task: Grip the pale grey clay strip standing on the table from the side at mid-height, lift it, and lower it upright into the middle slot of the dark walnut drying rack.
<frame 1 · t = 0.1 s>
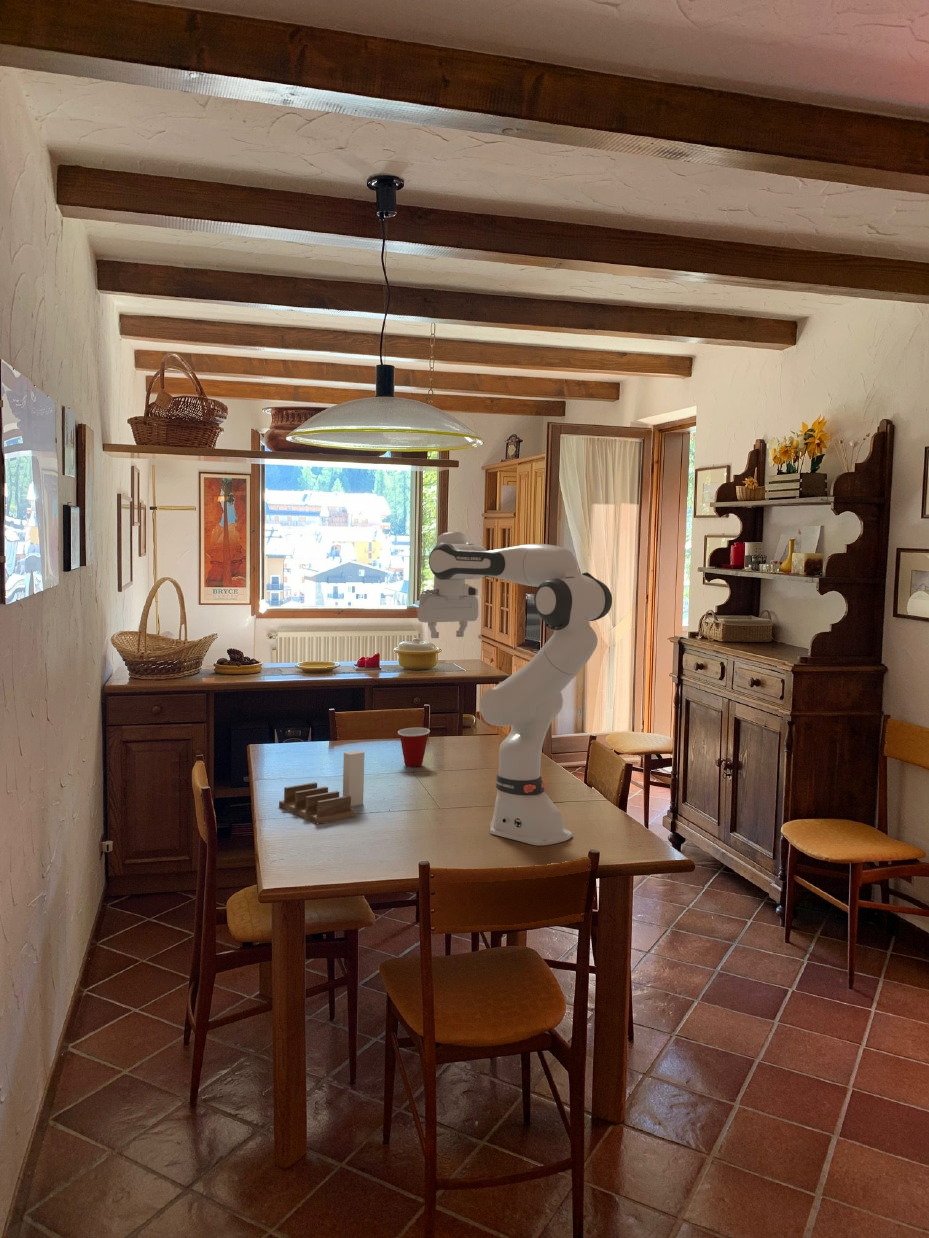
hand: (447, 637, 265), 48 cm above the table, tool pointing down, fingers open, 8 cm apart
plastic cup: (412, 765, 311), on the table
drying rack: (316, 811, 254), on the table
clay strip: (352, 804, 262), on the table
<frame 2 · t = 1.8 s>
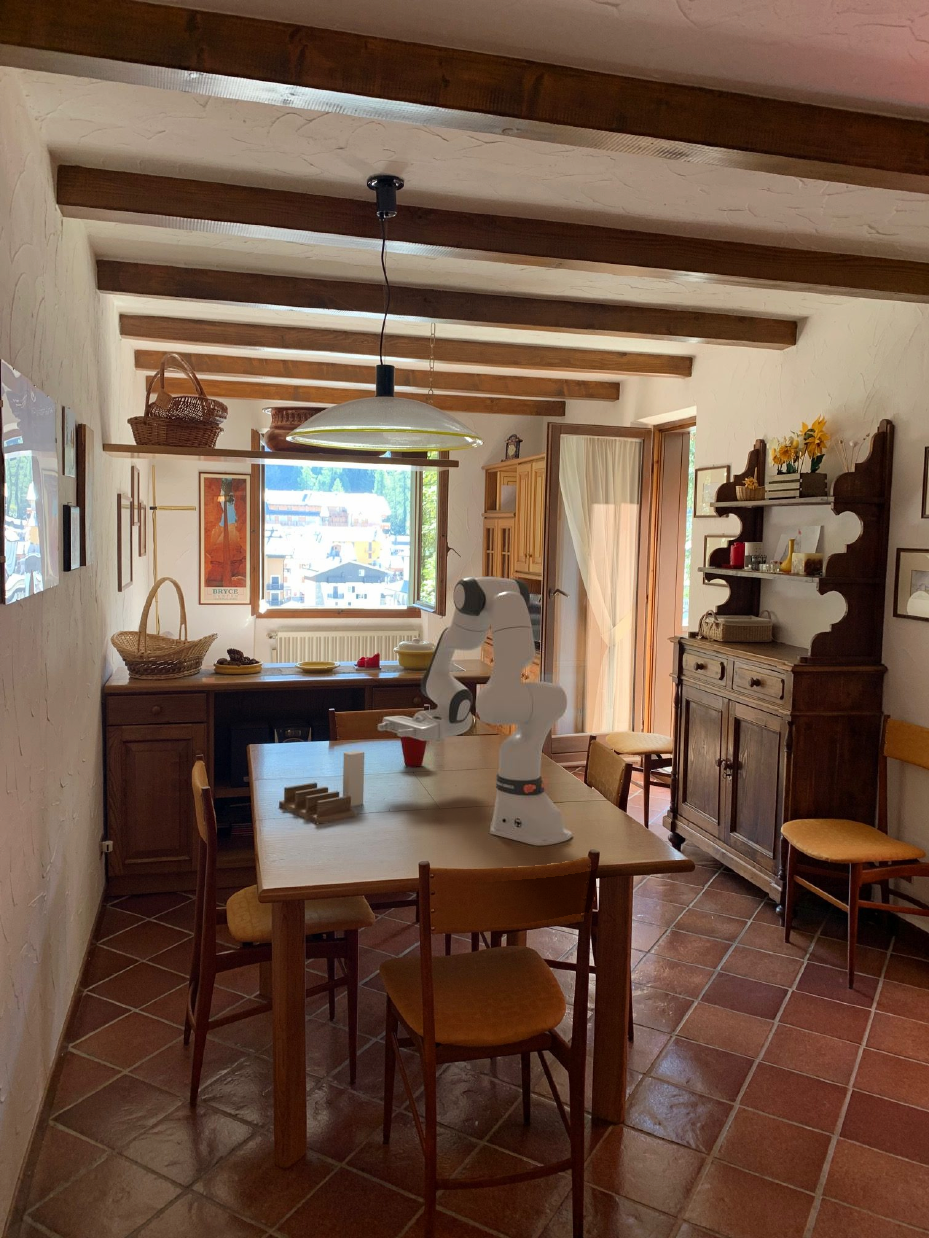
hand: (388, 730, 269), 20 cm above the table, tool horizontal, fingers open, 8 cm apart
nothing on the table moved.
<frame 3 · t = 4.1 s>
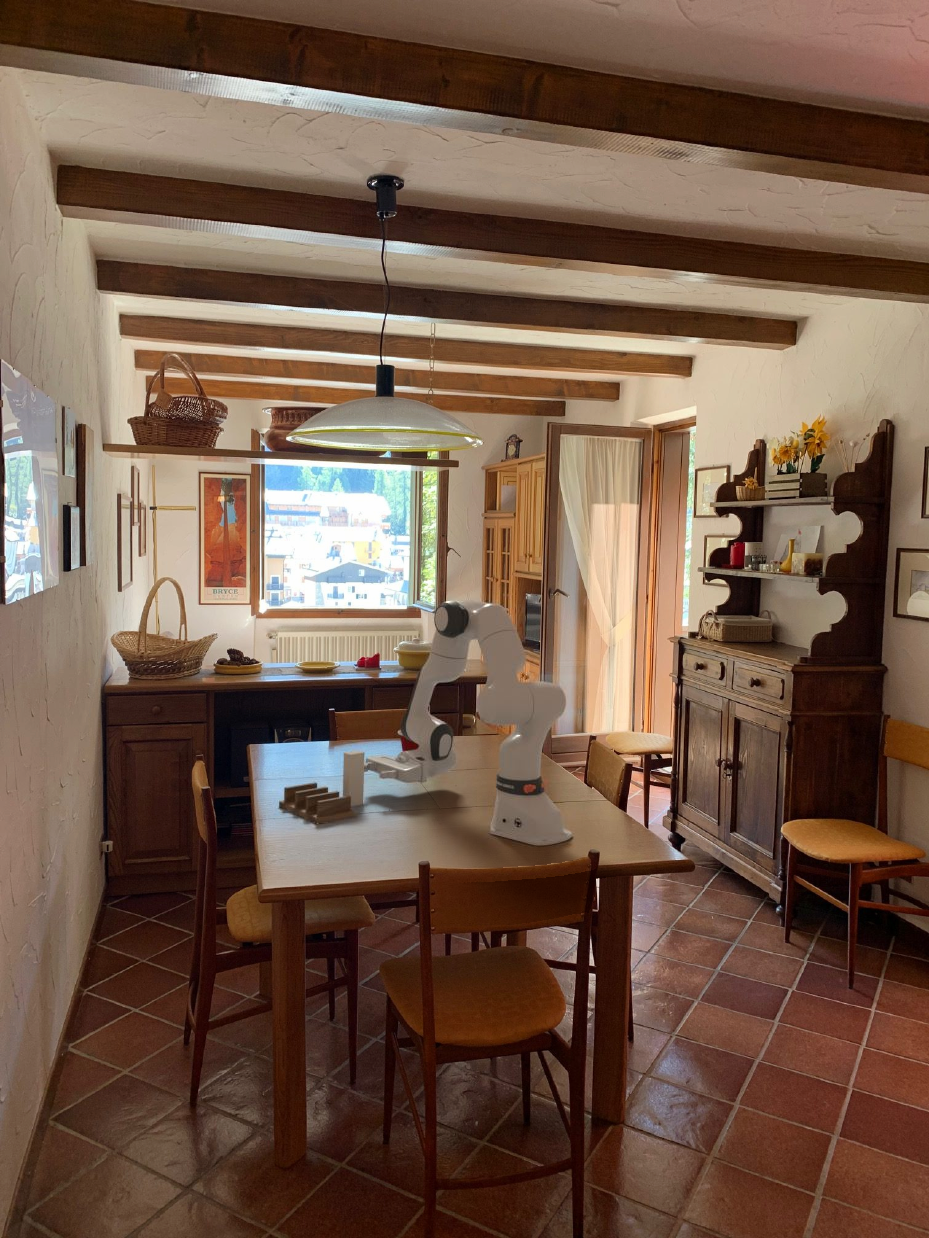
hand: (370, 772, 266), 8 cm above the table, tool horizontal, fingers open, 8 cm apart
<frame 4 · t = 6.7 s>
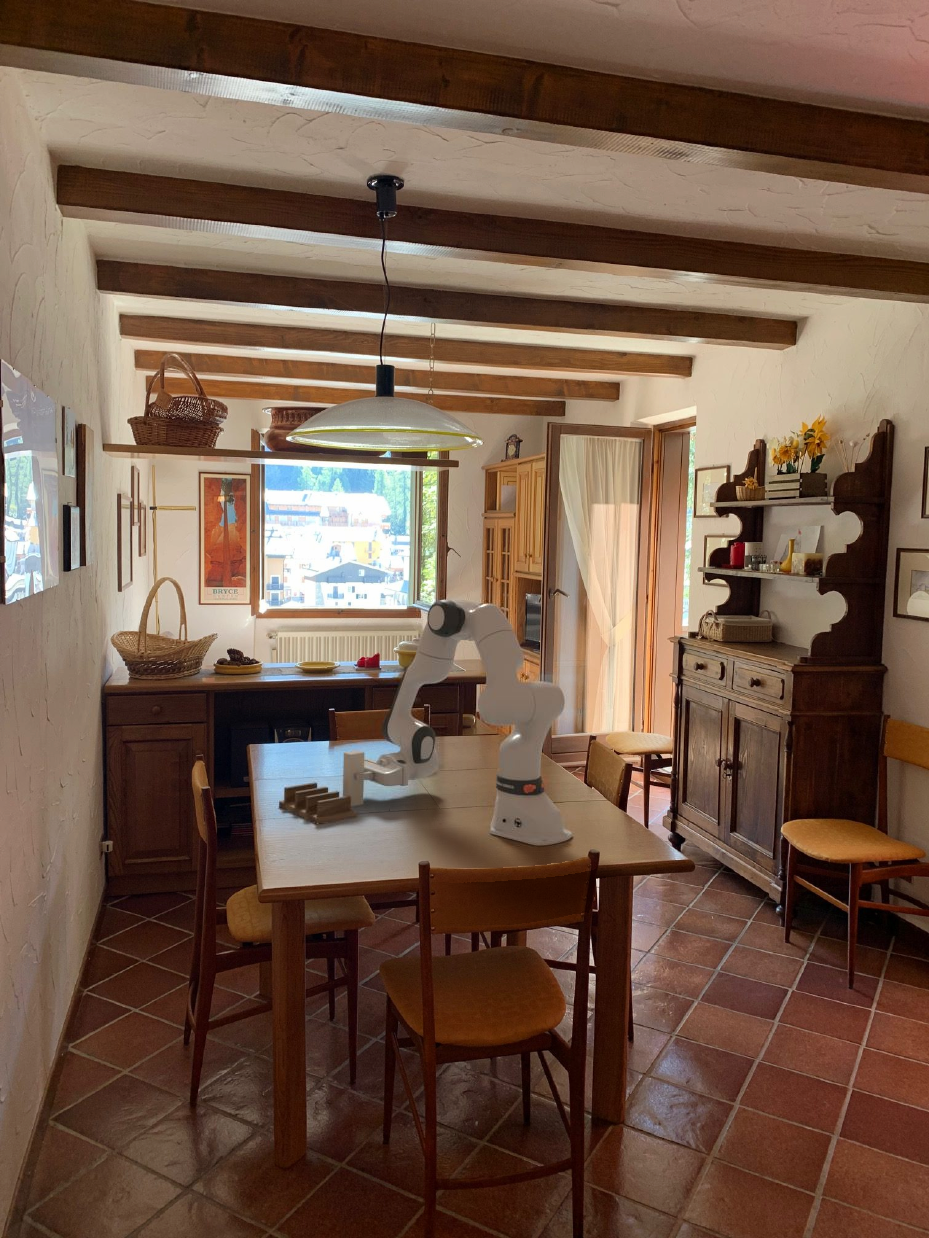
hand: (351, 775, 261), 9 cm above the table, tool horizontal, fingers closed on clay strip, 3 cm apart
clay strip: (352, 804, 262), on the table, touching gripper
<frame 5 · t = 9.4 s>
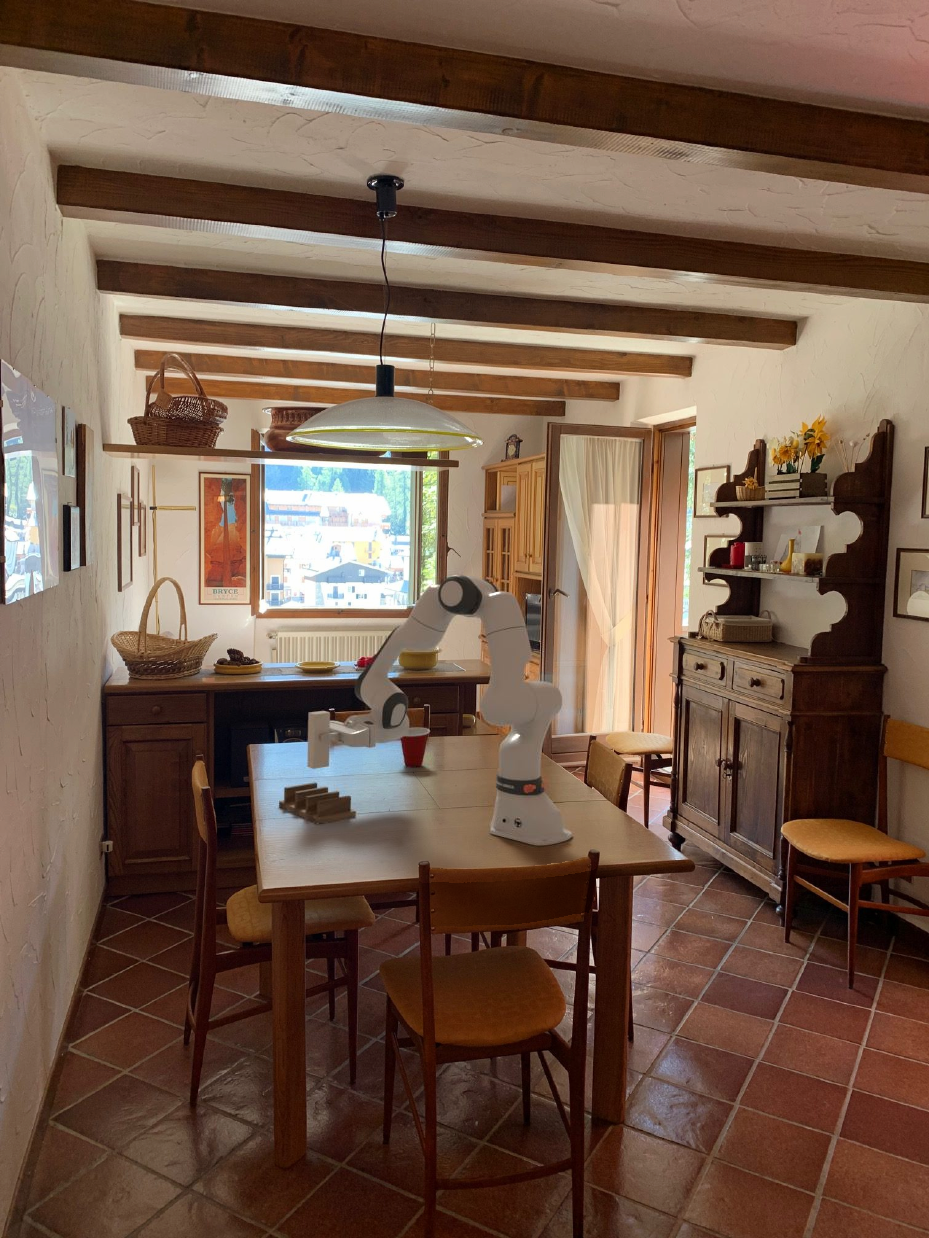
hand: (316, 736, 252), 21 cm above the table, tool horizontal, fingers closed on clay strip, 3 cm apart
clay strip: (318, 766, 254), point 13 cm above the table, touching gripper
when the fingers open (11 cm above the table, at t = 12.4 s): clay strip stays where it is, resting on drying rack.
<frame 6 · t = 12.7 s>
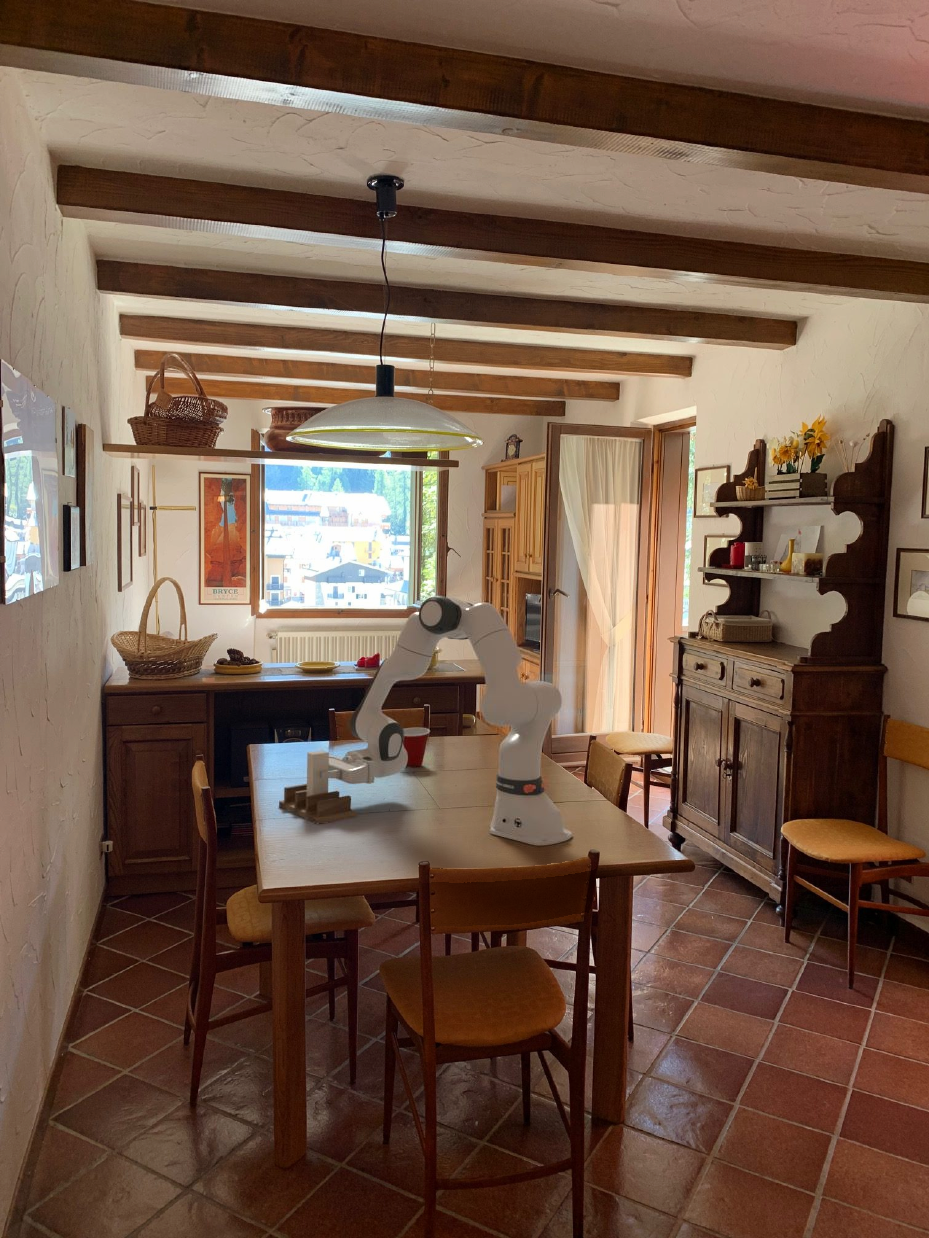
hand: (314, 772, 253), 11 cm above the table, tool horizontal, fingers open, 5 cm apart
clay strip: (317, 806, 254), point 1 cm above the table, touching drying rack
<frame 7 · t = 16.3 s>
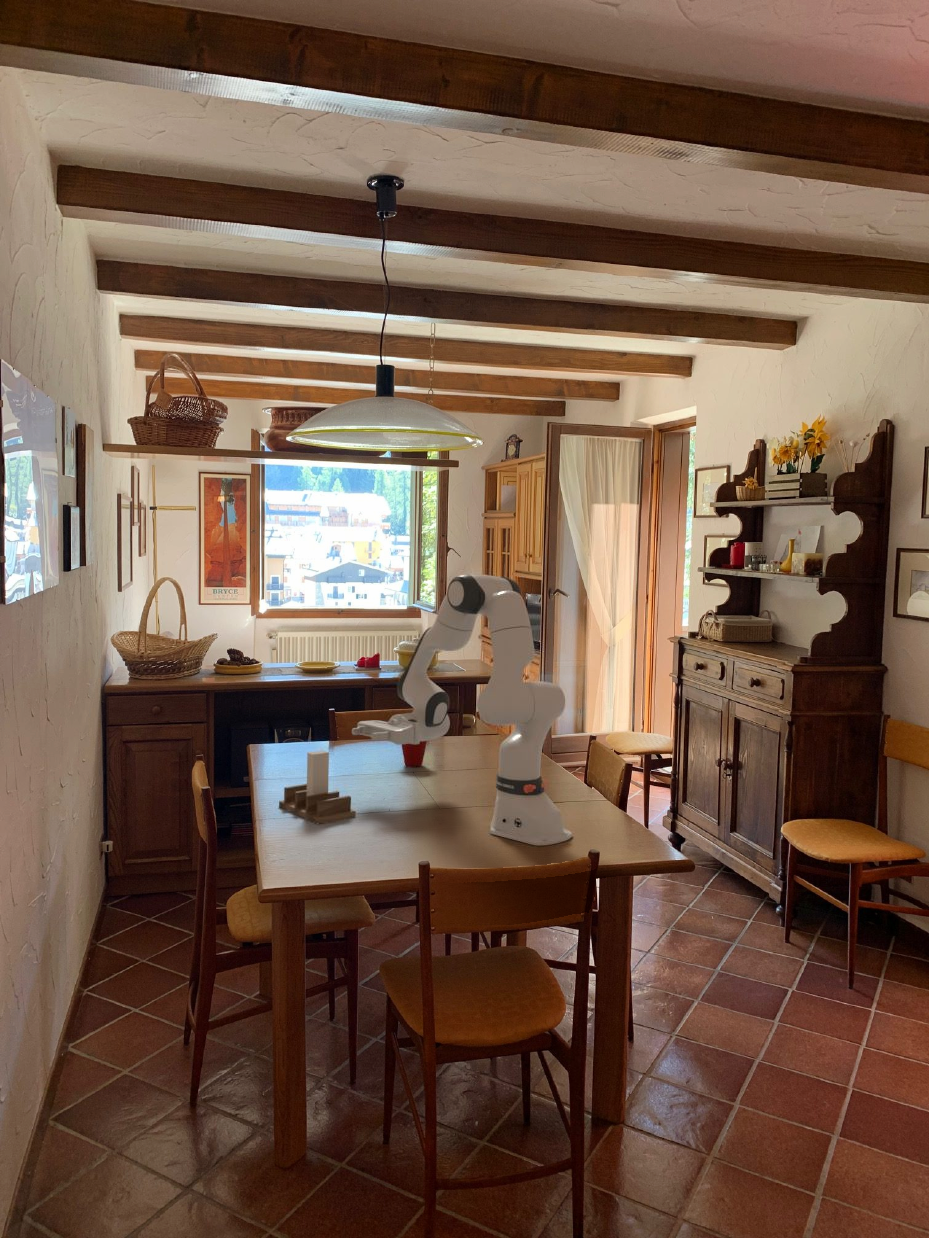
hand: (362, 734, 262), 20 cm above the table, tool horizontal, fingers open, 8 cm apart
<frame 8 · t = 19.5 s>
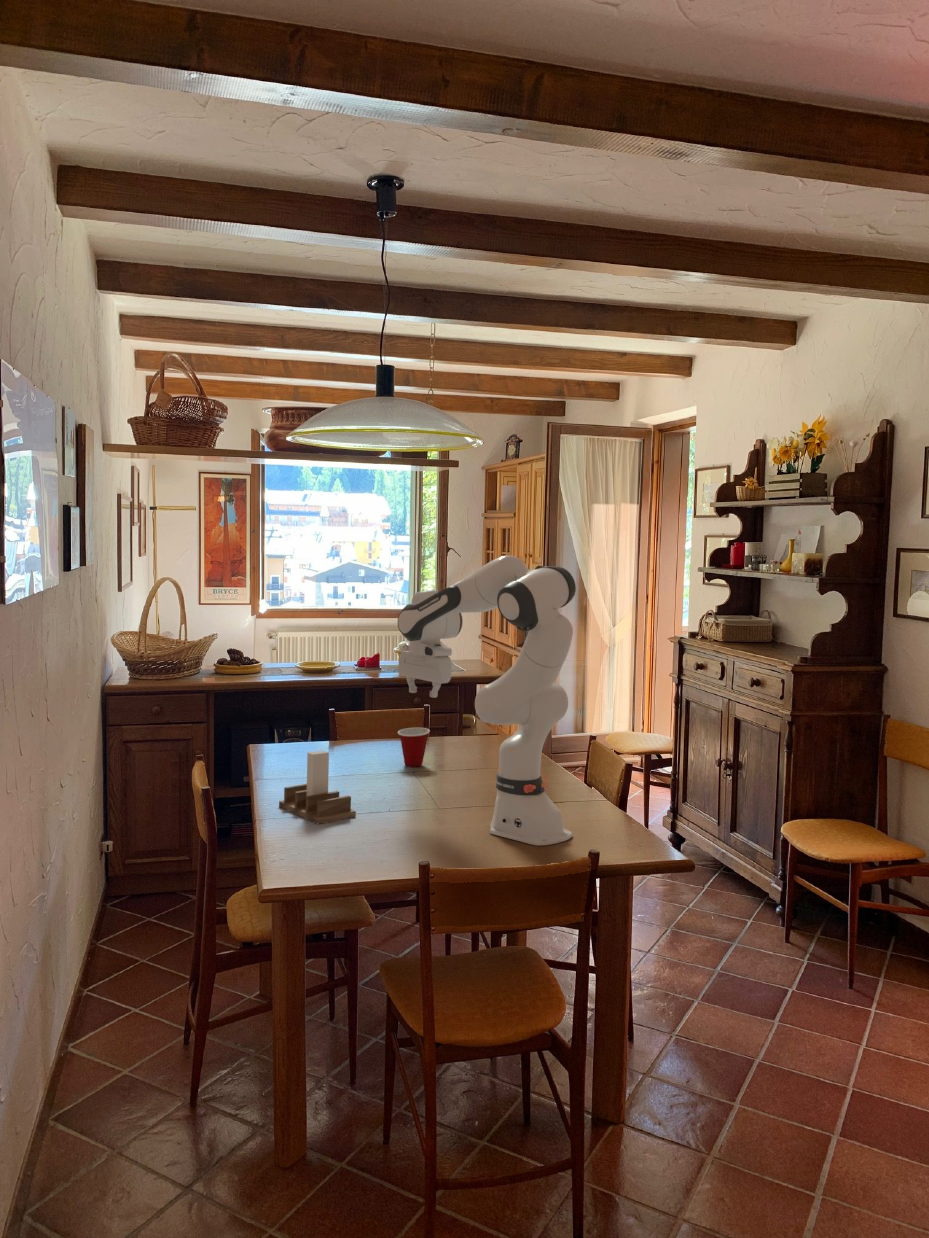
hand: (423, 694, 266), 31 cm above the table, tool pointing down, fingers open, 8 cm apart
at the end: clay strip 0.1 cm off-centre on the drying rack, point 1.5 cm above the drying rack's base; clay strip tilted 0°; the gripper is holding nothing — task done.
